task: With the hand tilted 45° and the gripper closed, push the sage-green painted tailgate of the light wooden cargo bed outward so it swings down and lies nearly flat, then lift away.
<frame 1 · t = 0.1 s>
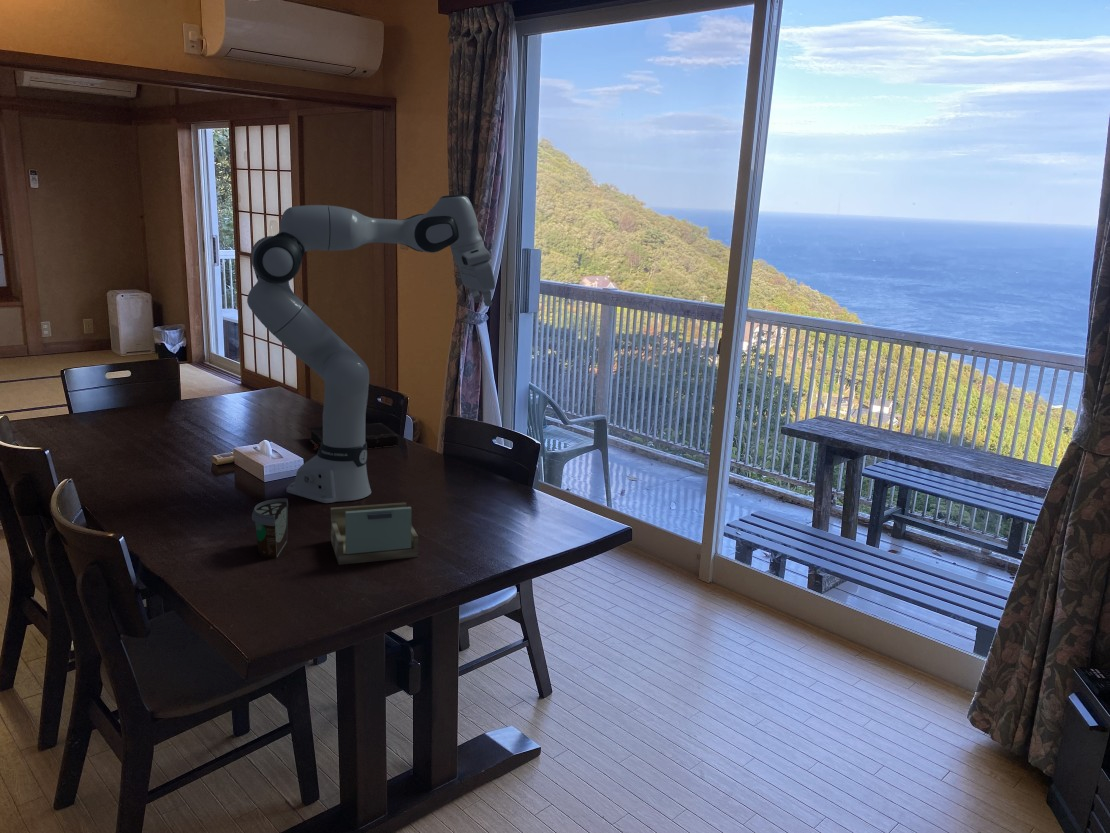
hand: (483, 303, 218), 52 cm above the table, tool tilted 20°, fingers open, 8 cm apart
cargo bed: (378, 560, 175), on the table
diary: (352, 445, 265), on the table
tailgate: (379, 530, 173), point 7 cm above the table, hinge at 0.0°
food container: (267, 550, 177), on the table
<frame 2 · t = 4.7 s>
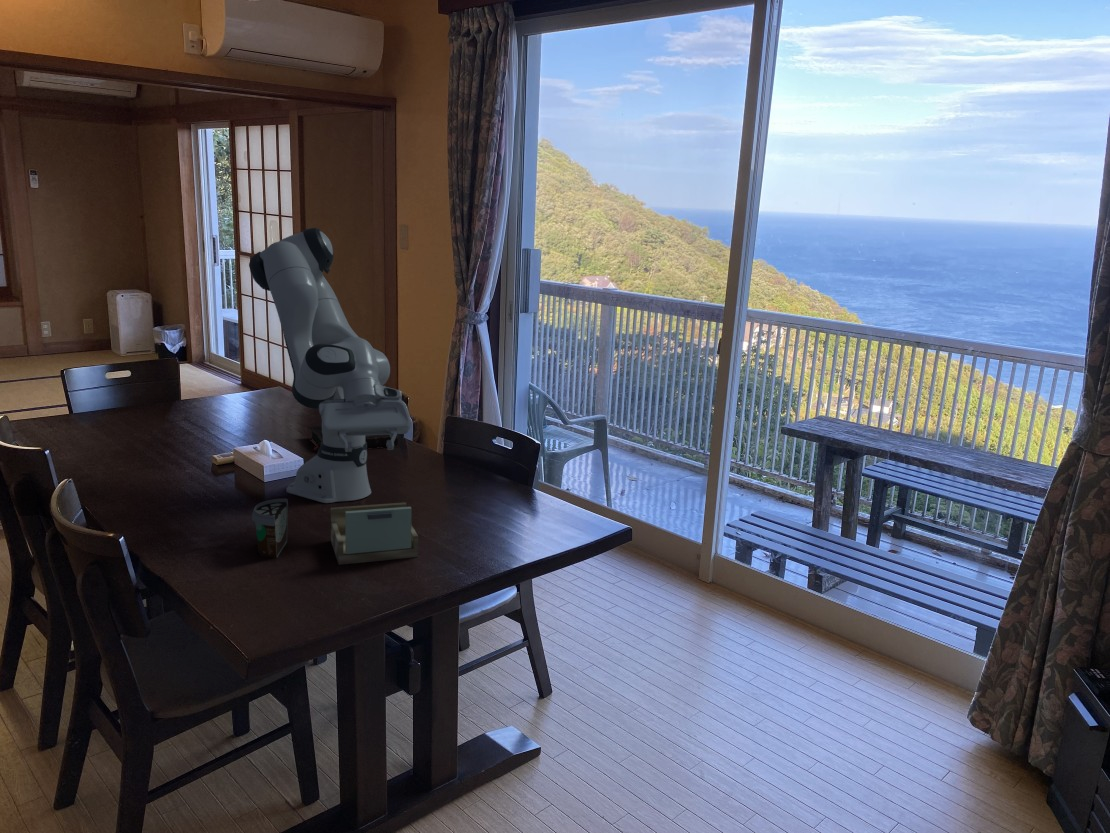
hand: (369, 449, 182), 21 cm above the table, tool tilted 45°, fingers open, 8 cm apart
nothing on the table moved.
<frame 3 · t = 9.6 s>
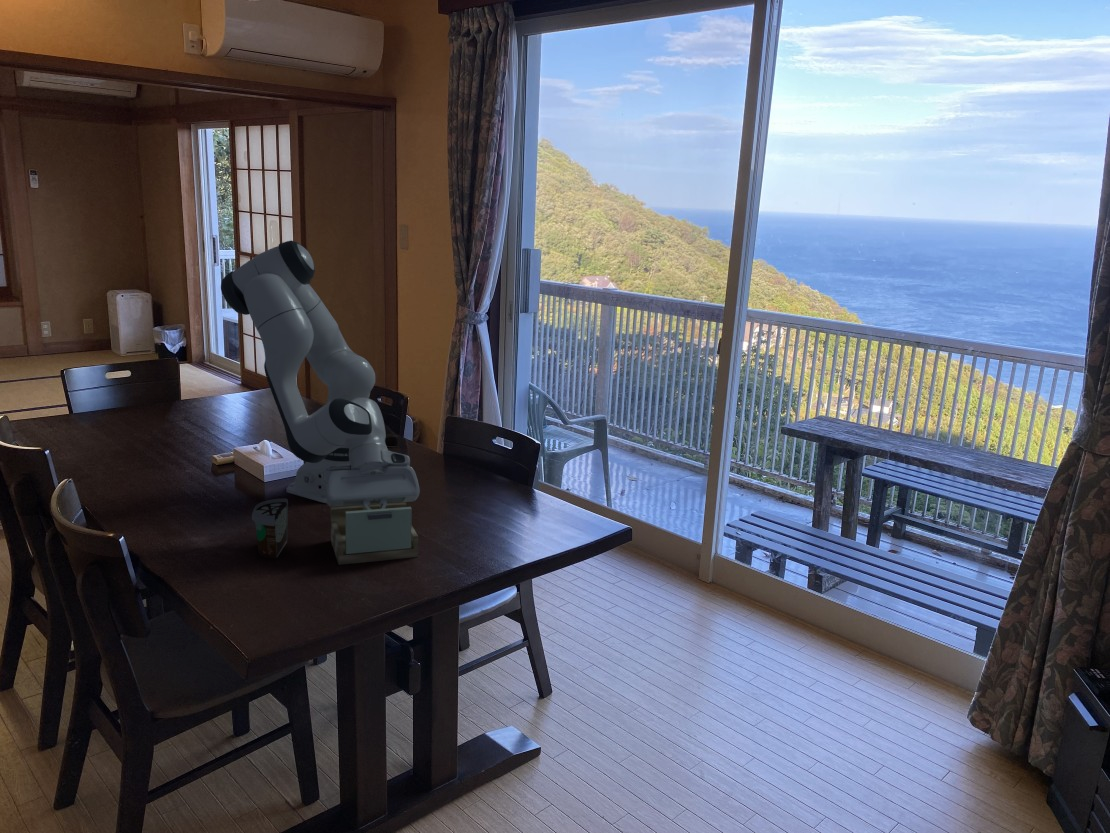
hand: (376, 520, 174), 9 cm above the table, tool tilted 45°, fingers closed, pressing on tailgate
tailgate: (379, 530, 173), point 7 cm above the table, hinge at 1.0°, touching gripper
everything else where it was.
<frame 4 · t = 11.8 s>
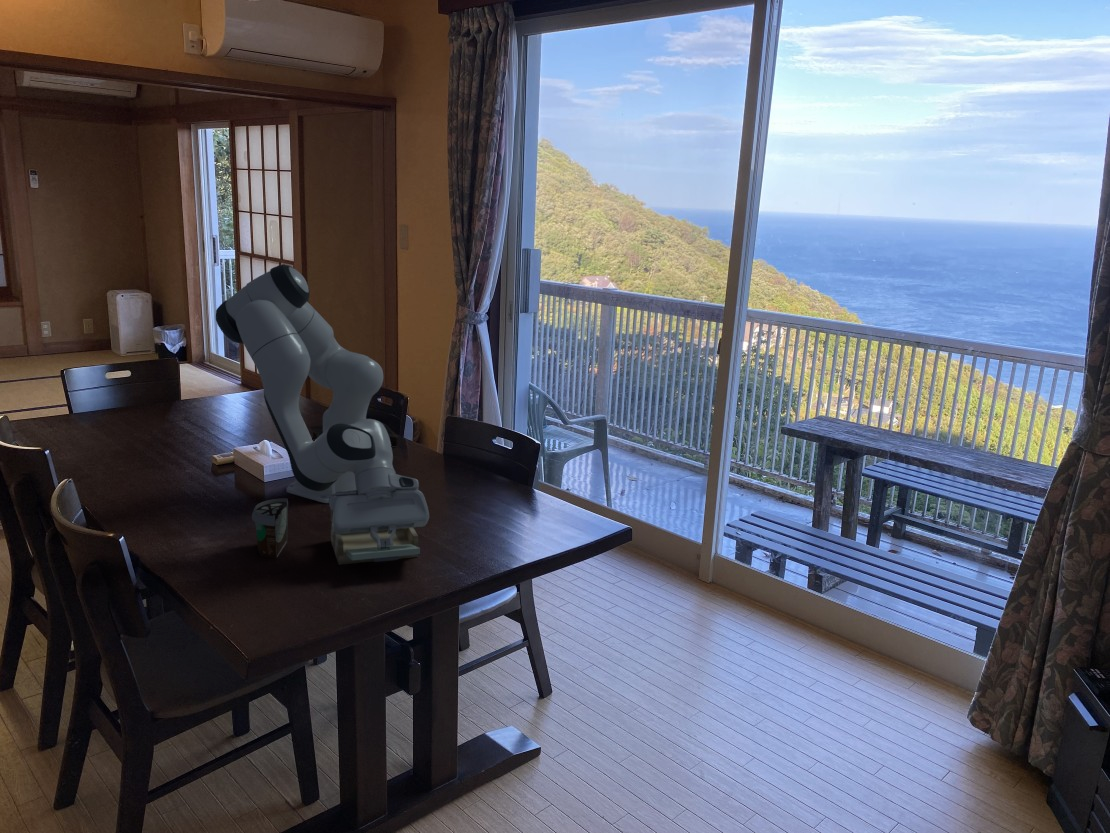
hand: (385, 548, 167), 6 cm above the table, tool tilted 45°, fingers closed, pressing on tailgate
tailgate: (382, 553, 170), point 4 cm above the table, hinge at 73.6°, touching gripper
everything else where it was.
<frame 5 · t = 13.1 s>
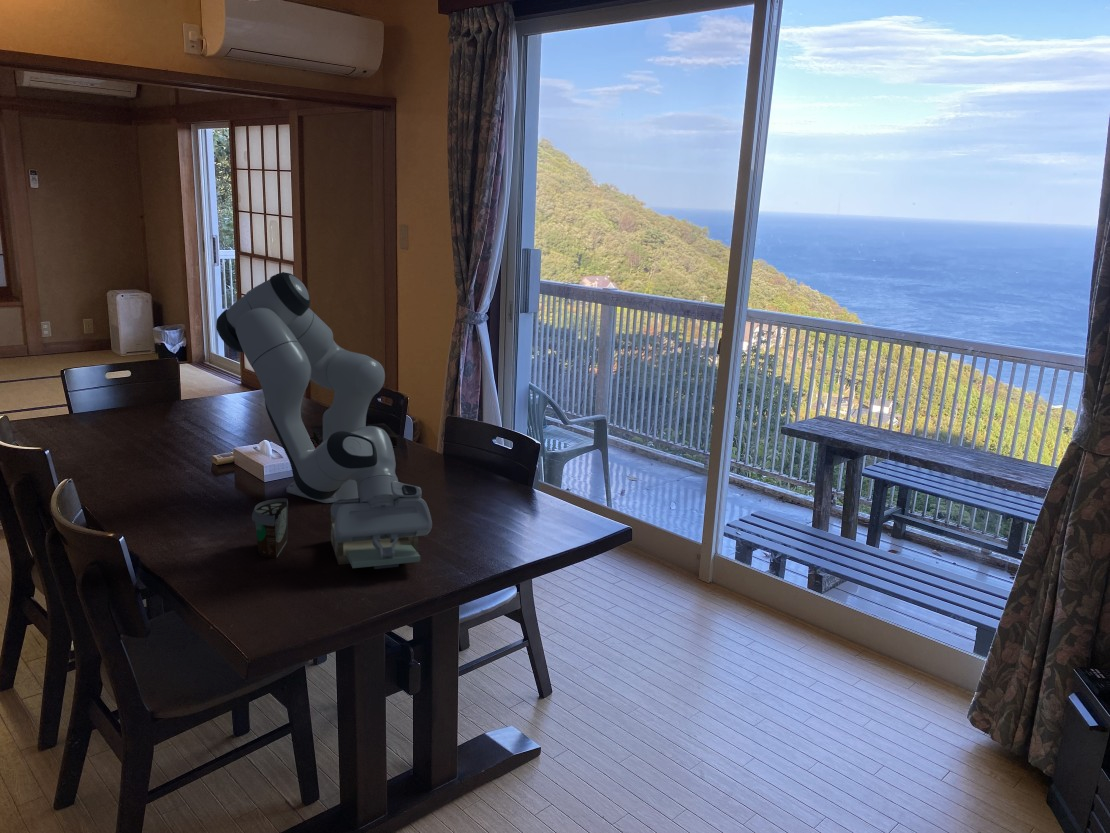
hand: (387, 557, 165), 5 cm above the table, tool tilted 45°, fingers closed, pressing on tailgate
tailgate: (383, 557, 170), point 3 cm above the table, hinge at 83.1°, touching gripper
everything else where it was.
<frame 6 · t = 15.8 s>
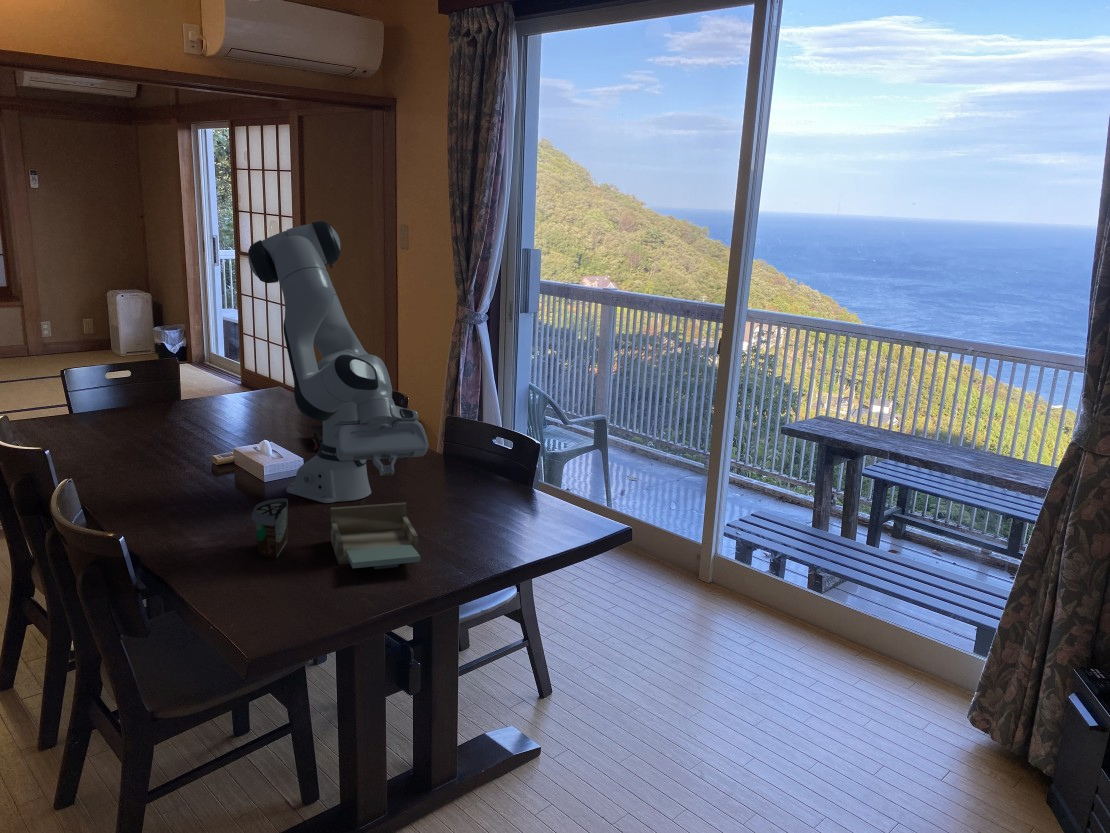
hand: (387, 474, 175), 19 cm above the table, tool tilted 45°, fingers closed
tailgate: (383, 557, 170), point 3 cm above the table, hinge at 83.2°
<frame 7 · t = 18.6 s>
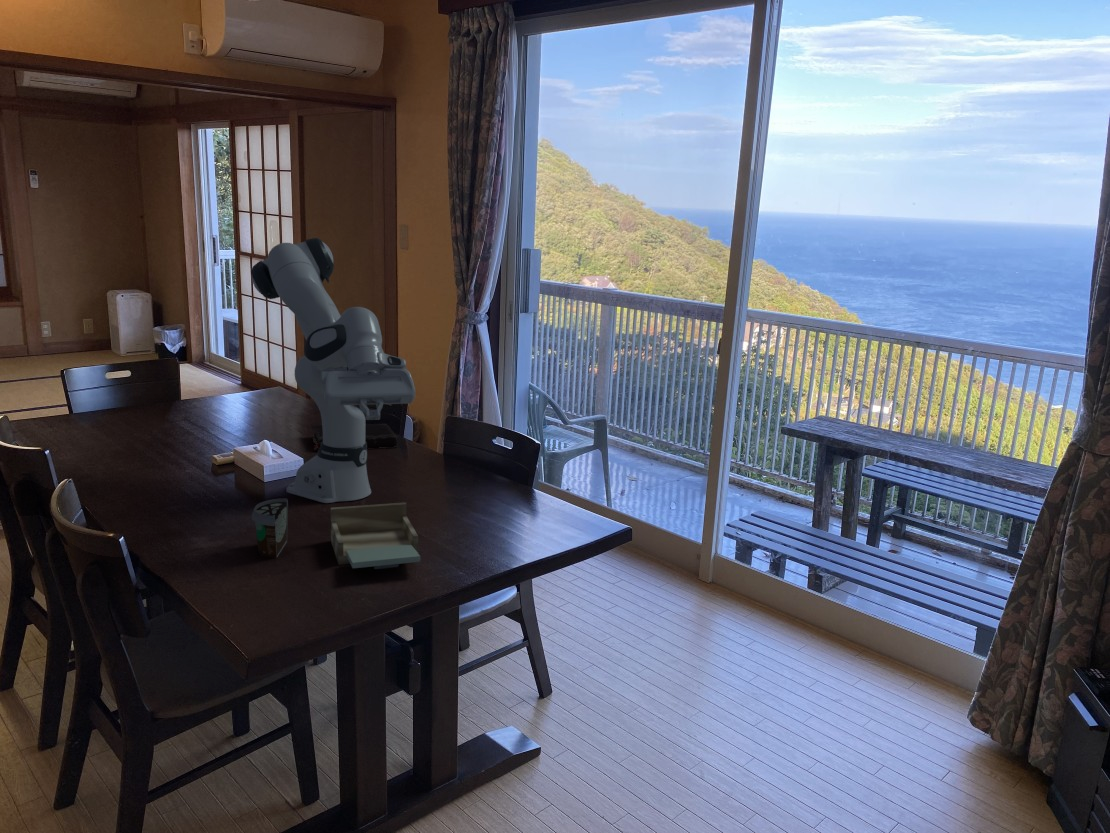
hand: (373, 418, 178), 30 cm above the table, tool tilted 45°, fingers closed
at the end: tailgate at +83° (first picture: +0°); food container moved 0.2 cm from its start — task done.
